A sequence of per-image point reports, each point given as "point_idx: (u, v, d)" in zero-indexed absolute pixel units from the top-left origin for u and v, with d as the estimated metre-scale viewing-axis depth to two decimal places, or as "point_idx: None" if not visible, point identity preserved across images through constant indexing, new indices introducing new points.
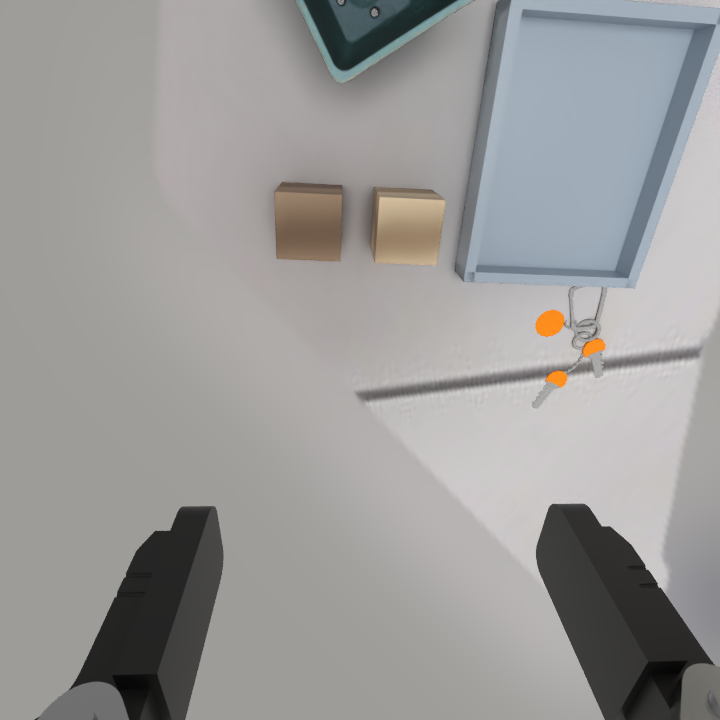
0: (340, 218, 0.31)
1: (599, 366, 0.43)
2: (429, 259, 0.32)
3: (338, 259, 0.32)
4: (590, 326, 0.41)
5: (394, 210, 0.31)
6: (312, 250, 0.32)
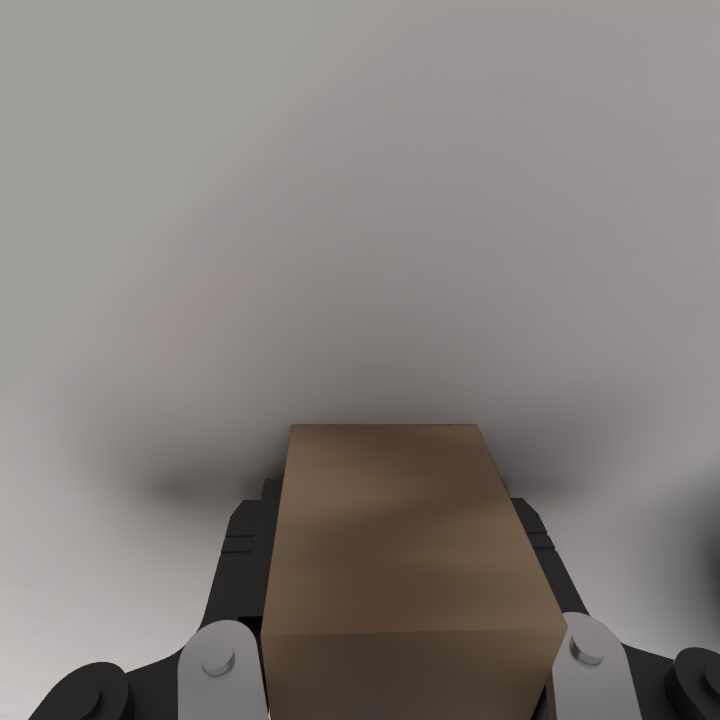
0: None
1: None
2: None
3: None
4: None
5: None
6: None
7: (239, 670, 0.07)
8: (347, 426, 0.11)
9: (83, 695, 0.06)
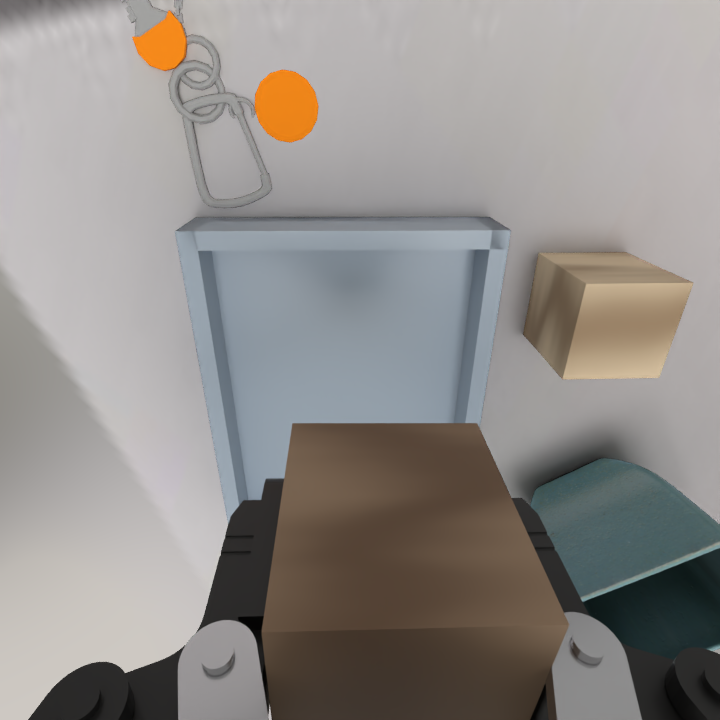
0: None
1: None
2: (596, 293, 0.19)
3: None
4: (197, 106, 0.19)
5: (641, 362, 0.20)
6: (312, 719, 0.08)
7: (239, 670, 0.07)
8: (348, 424, 0.11)
9: (83, 695, 0.06)
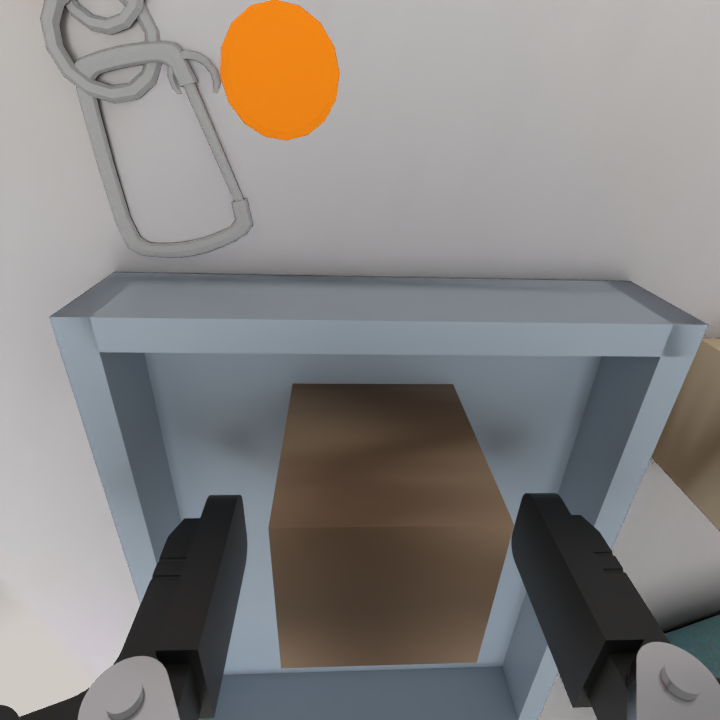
0: (412, 663, 0.10)
1: None
2: None
3: (286, 665, 0.10)
4: (103, 66, 0.09)
5: None
6: (309, 612, 0.09)
7: (146, 713, 0.06)
8: (340, 384, 0.12)
9: None
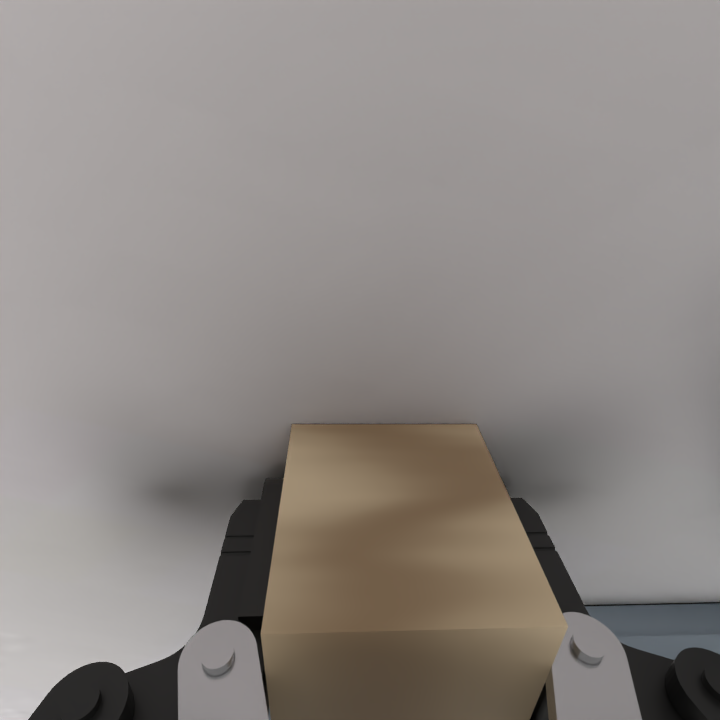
0: None
1: None
2: None
3: None
4: None
5: (500, 668, 0.07)
6: None
7: (239, 670, 0.07)
8: None
9: (83, 695, 0.06)
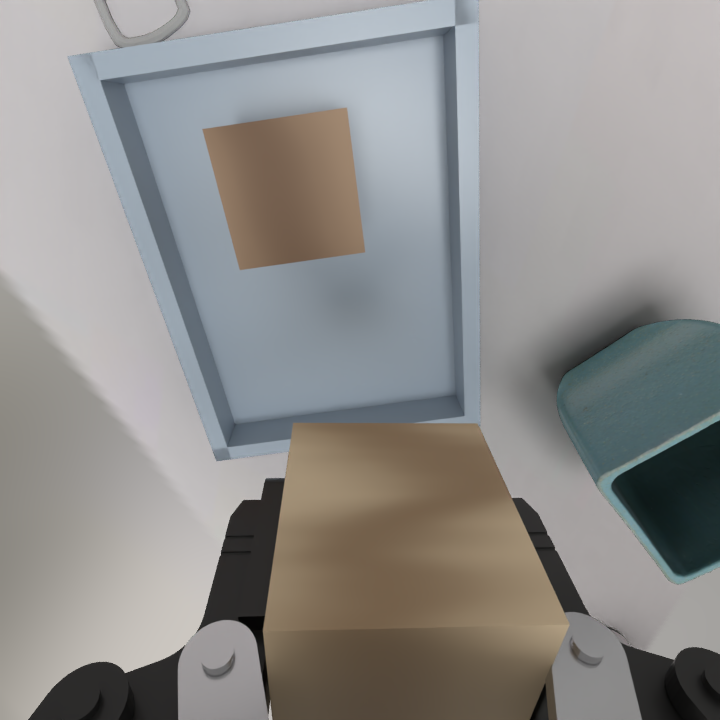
0: (322, 256, 0.16)
1: None
2: None
3: (242, 266, 0.16)
4: None
5: (501, 666, 0.07)
6: (244, 209, 0.15)
7: (239, 670, 0.07)
8: None
9: (83, 695, 0.06)
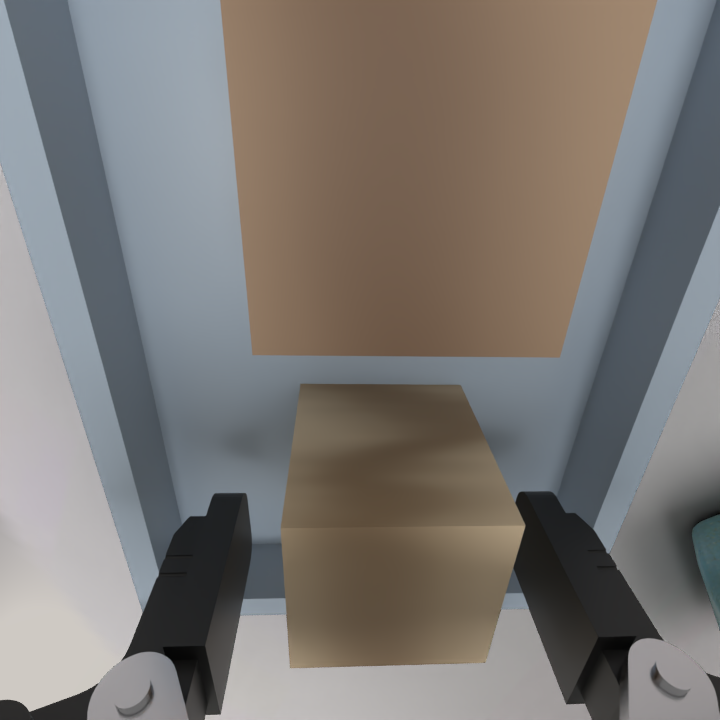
0: (459, 352, 0.07)
1: None
2: (309, 653, 0.10)
3: (261, 347, 0.06)
4: None
5: (473, 565, 0.09)
6: (295, 210, 0.06)
7: (154, 708, 0.06)
8: None
9: None
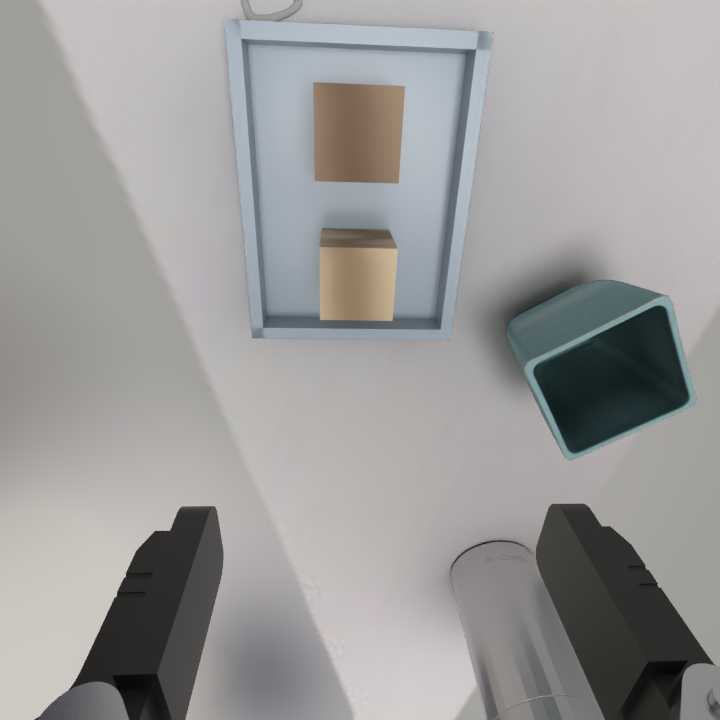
0: (370, 181, 0.24)
1: None
2: (327, 311, 0.28)
3: (317, 178, 0.24)
4: None
5: (382, 266, 0.26)
6: (327, 139, 0.23)
7: None
8: None
9: None
